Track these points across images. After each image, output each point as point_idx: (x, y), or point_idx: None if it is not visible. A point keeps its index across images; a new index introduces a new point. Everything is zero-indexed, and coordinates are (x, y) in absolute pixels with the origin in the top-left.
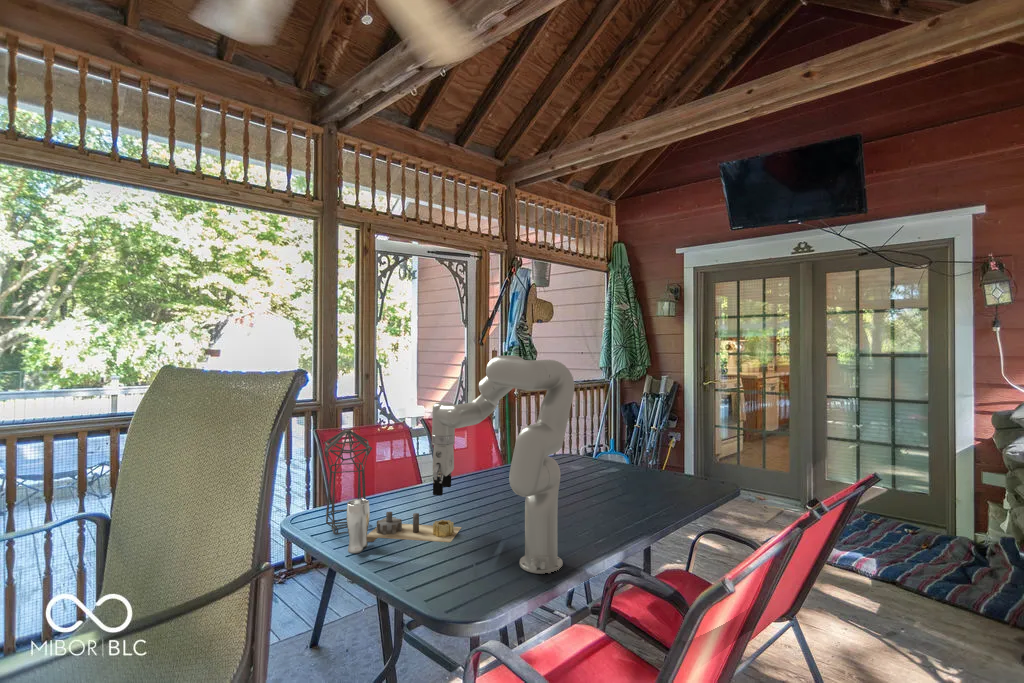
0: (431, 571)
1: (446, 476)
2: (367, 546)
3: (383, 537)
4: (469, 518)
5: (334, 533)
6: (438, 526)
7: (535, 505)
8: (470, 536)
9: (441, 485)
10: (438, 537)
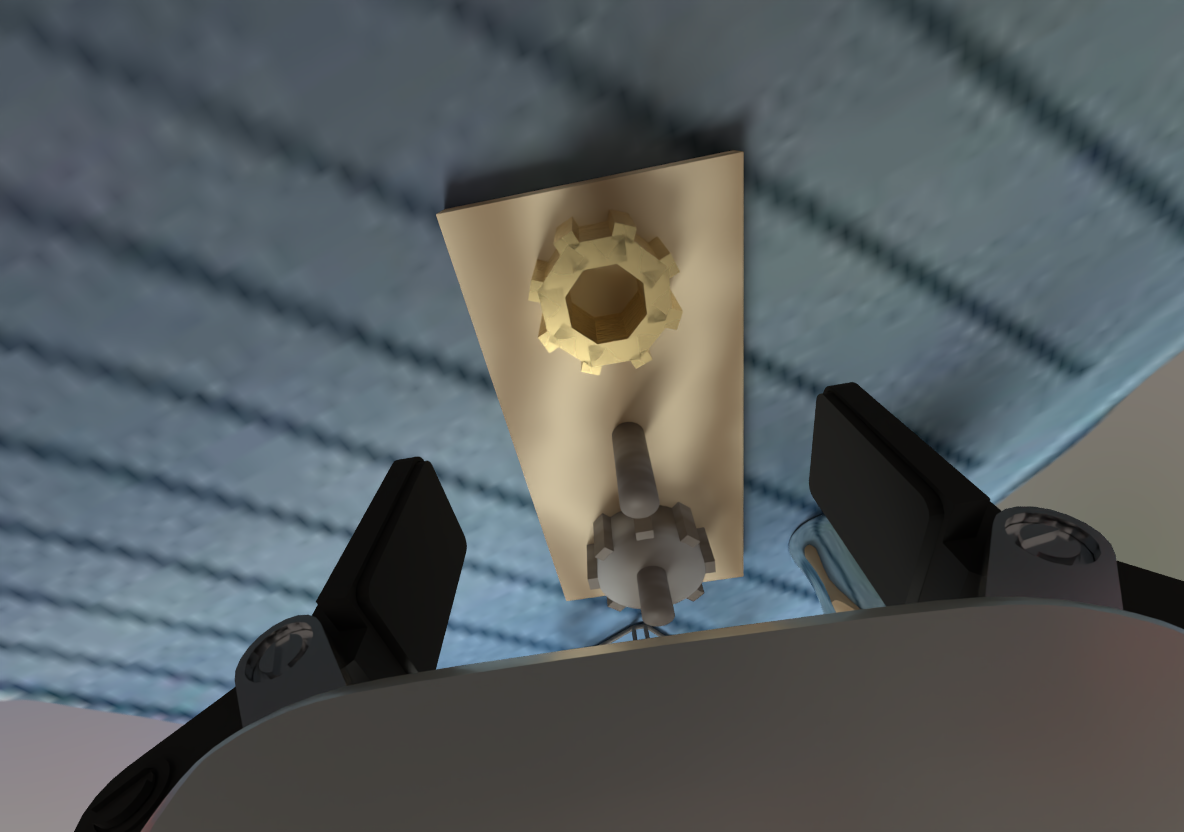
0: (1148, 73)
1: (401, 634)
2: (828, 524)
3: (737, 520)
4: (190, 276)
5: None
6: (674, 308)
7: None
8: (497, 91)
9: (953, 484)
10: (676, 278)
